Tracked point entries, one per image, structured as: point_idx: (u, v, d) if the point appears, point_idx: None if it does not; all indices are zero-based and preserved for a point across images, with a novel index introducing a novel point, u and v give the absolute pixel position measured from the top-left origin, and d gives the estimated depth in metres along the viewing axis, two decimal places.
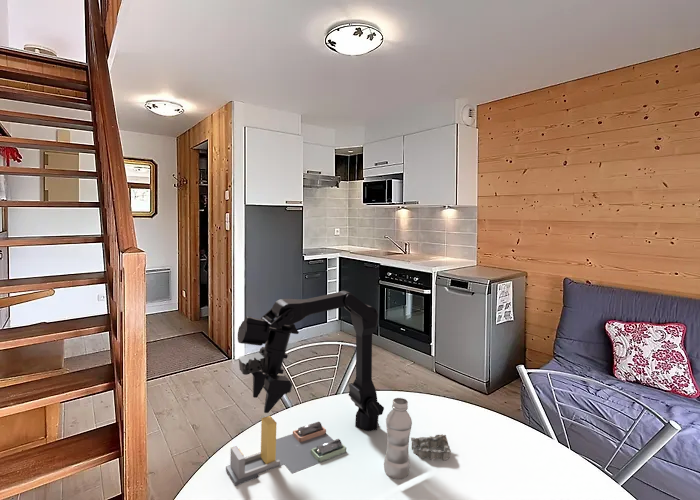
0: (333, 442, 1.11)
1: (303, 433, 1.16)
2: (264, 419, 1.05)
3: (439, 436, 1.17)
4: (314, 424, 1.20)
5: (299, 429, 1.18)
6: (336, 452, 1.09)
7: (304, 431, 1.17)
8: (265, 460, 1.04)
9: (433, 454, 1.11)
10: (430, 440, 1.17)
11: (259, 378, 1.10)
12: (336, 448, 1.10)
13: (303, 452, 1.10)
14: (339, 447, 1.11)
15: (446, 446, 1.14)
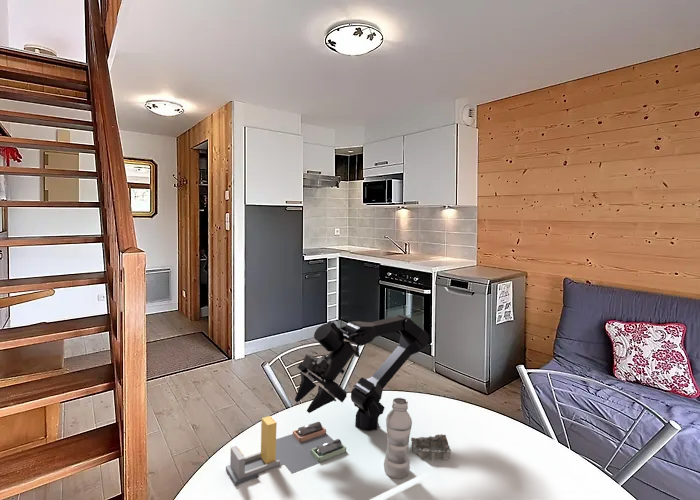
0: (333, 442, 1.11)
1: (303, 433, 1.16)
2: (264, 419, 1.05)
3: (439, 436, 1.17)
4: (314, 424, 1.20)
5: (299, 429, 1.18)
6: (336, 452, 1.09)
7: (304, 431, 1.17)
8: (265, 460, 1.04)
9: (433, 454, 1.11)
10: (430, 440, 1.17)
11: (306, 385, 1.15)
12: (336, 448, 1.10)
13: (303, 452, 1.10)
14: (339, 447, 1.11)
15: (446, 446, 1.14)
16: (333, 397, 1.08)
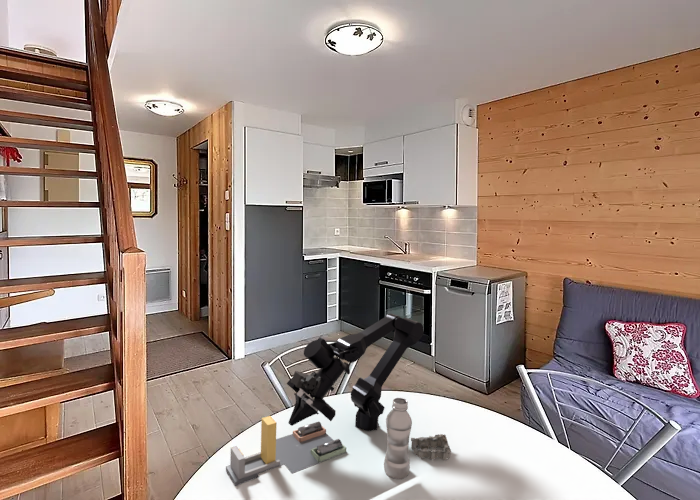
0: (333, 442, 1.11)
1: (303, 433, 1.16)
2: (264, 419, 1.05)
3: (439, 436, 1.17)
4: (314, 424, 1.20)
5: (299, 429, 1.18)
6: (336, 452, 1.09)
7: (304, 430, 1.17)
8: (265, 460, 1.04)
9: (433, 454, 1.11)
10: (430, 440, 1.17)
11: None
12: (336, 448, 1.10)
13: (303, 452, 1.10)
14: (339, 447, 1.11)
15: (446, 446, 1.15)
16: (315, 410, 1.09)
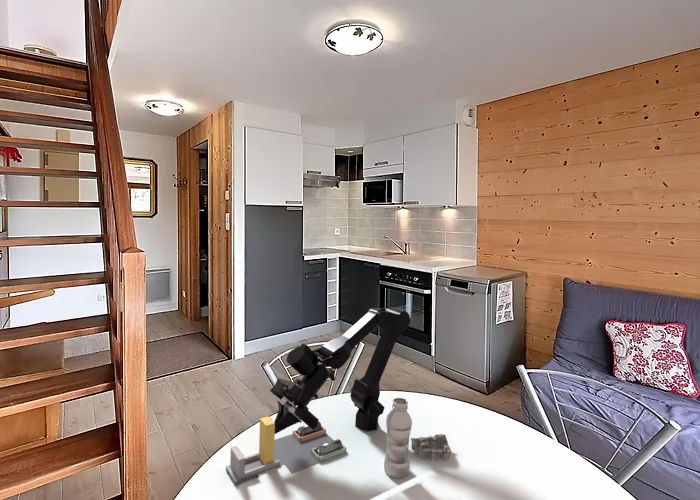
0: (334, 443, 1.11)
1: (303, 432, 1.17)
2: (262, 419, 1.05)
3: (439, 436, 1.17)
4: None
5: (298, 429, 1.18)
6: (336, 452, 1.09)
7: (304, 430, 1.17)
8: (263, 461, 1.04)
9: (433, 454, 1.11)
10: (430, 440, 1.17)
11: None
12: (336, 449, 1.10)
13: (303, 452, 1.10)
14: (339, 448, 1.11)
15: (446, 446, 1.15)
16: (298, 418, 1.06)
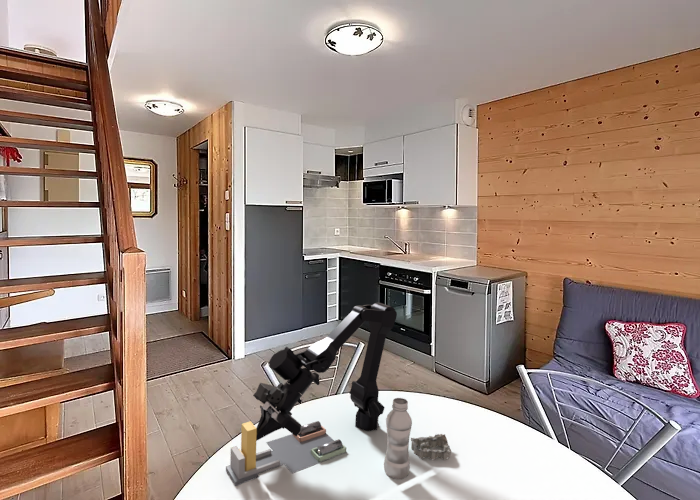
0: (334, 443, 1.10)
1: (302, 431, 1.17)
2: (244, 425, 1.02)
3: (439, 436, 1.17)
4: (313, 423, 1.20)
5: None
6: (336, 452, 1.09)
7: (303, 429, 1.17)
8: (245, 467, 1.01)
9: (434, 454, 1.11)
10: (430, 440, 1.17)
11: None
12: (336, 449, 1.10)
13: (303, 452, 1.10)
14: (339, 448, 1.11)
15: (446, 445, 1.15)
16: (281, 424, 1.03)
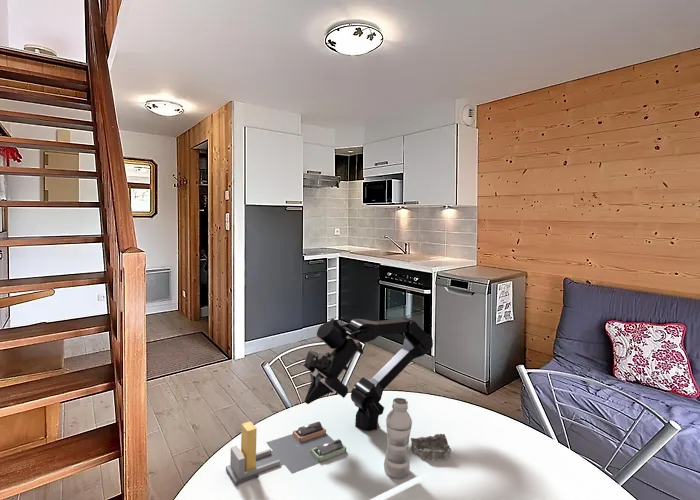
0: (334, 443, 1.10)
1: (303, 433, 1.16)
2: (244, 425, 1.02)
3: (438, 435, 1.17)
4: (314, 424, 1.20)
5: (299, 429, 1.18)
6: (336, 452, 1.09)
7: (304, 430, 1.17)
8: (245, 467, 1.01)
9: (434, 454, 1.11)
10: (429, 440, 1.17)
11: None
12: (336, 449, 1.10)
13: (303, 452, 1.10)
14: (339, 448, 1.11)
15: (446, 445, 1.15)
16: (329, 388, 1.12)
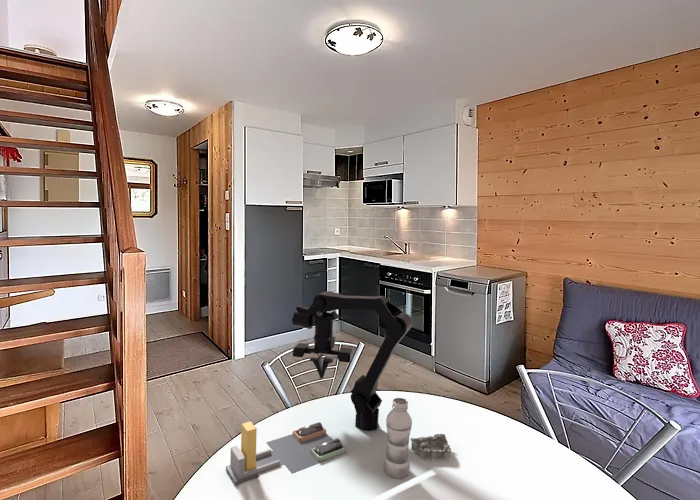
0: (332, 441, 1.11)
1: (304, 435, 1.16)
2: (244, 425, 1.02)
3: (438, 435, 1.17)
4: (315, 425, 1.19)
5: (300, 430, 1.17)
6: (336, 452, 1.09)
7: (305, 433, 1.16)
8: (245, 467, 1.01)
9: (434, 454, 1.11)
10: (429, 440, 1.17)
11: None
12: (335, 446, 1.10)
13: (303, 452, 1.10)
14: (338, 445, 1.11)
15: (446, 445, 1.15)
16: None
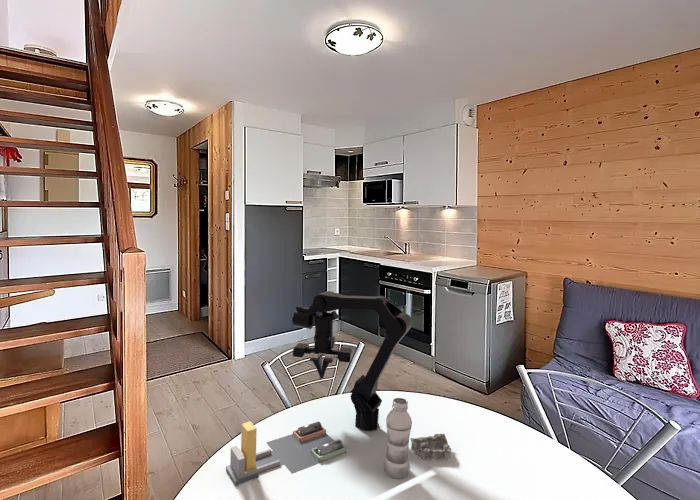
0: (334, 444, 1.10)
1: (303, 432, 1.16)
2: (244, 425, 1.02)
3: (438, 435, 1.17)
4: (314, 423, 1.20)
5: (299, 429, 1.18)
6: (336, 452, 1.09)
7: (304, 430, 1.17)
8: (245, 467, 1.01)
9: (434, 454, 1.11)
10: (429, 440, 1.17)
11: None
12: None
13: (303, 452, 1.10)
14: None
15: (446, 445, 1.15)
16: None
